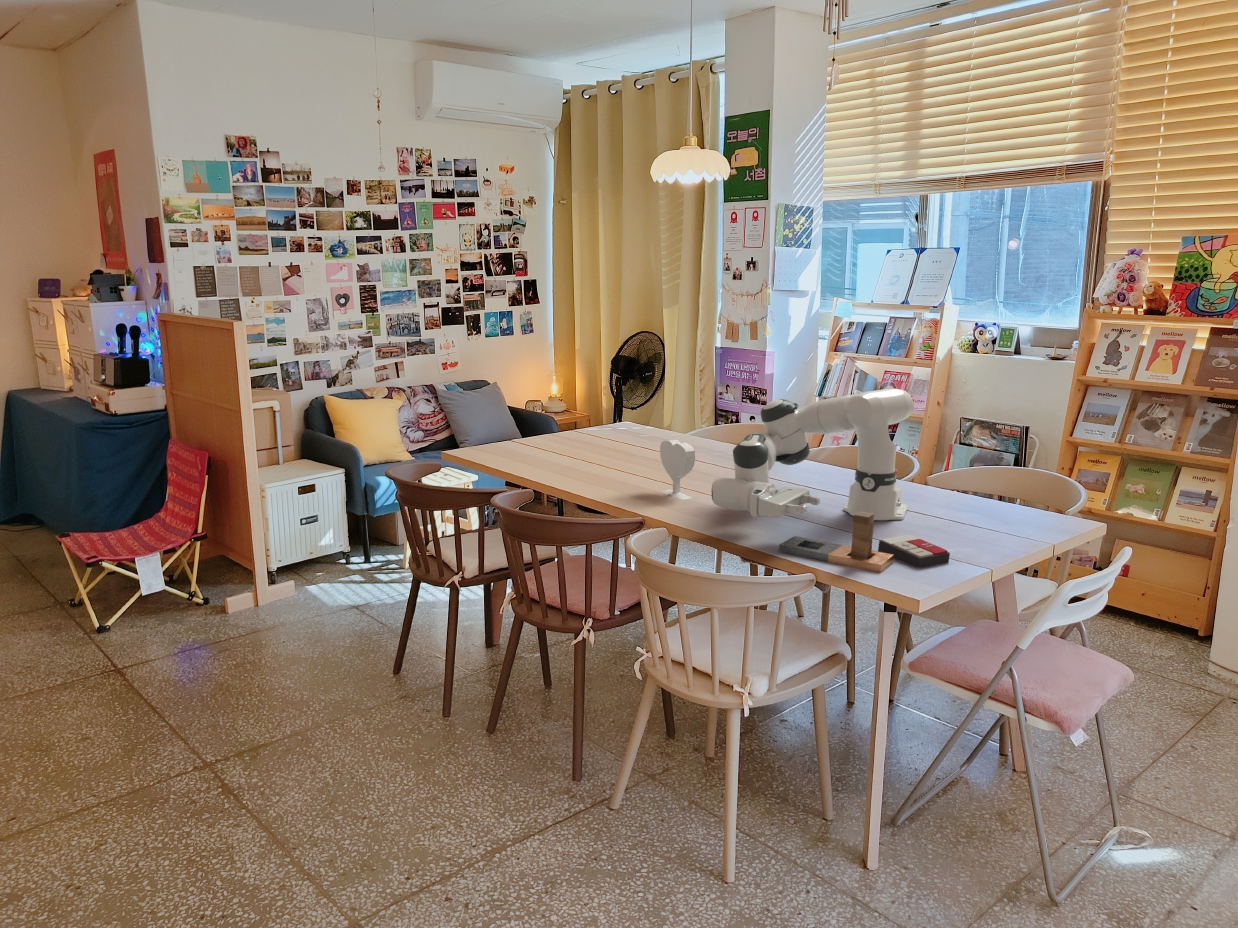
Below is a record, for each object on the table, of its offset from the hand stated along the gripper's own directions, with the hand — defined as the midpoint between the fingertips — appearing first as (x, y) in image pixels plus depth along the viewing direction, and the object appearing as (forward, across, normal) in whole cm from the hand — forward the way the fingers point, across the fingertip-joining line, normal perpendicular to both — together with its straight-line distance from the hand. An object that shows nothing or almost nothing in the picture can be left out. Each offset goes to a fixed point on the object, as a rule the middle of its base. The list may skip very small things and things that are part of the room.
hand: (812, 505), depth 243 cm
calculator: (+24, -12, -14) cm, 30 cm away
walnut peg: (+14, +1, -13) cm, 19 cm away
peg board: (+7, 0, -13) cm, 15 cm away
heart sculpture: (-60, -31, -12) cm, 69 cm away
